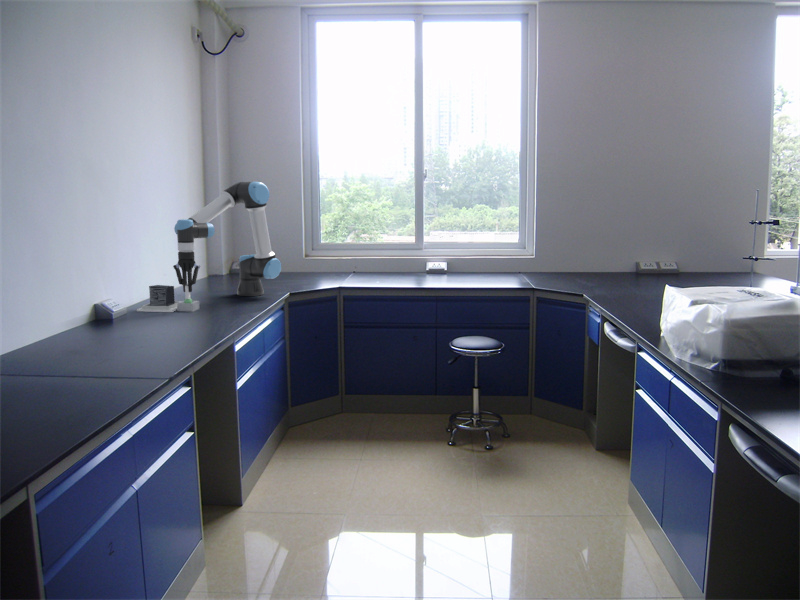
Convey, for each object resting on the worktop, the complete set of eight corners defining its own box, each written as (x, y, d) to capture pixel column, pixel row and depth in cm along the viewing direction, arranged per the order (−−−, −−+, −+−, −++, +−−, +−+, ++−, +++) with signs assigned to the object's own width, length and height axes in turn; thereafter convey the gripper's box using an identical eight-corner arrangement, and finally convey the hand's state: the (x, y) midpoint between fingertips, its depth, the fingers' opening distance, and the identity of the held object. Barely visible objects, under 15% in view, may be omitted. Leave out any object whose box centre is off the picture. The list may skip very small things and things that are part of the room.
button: (193, 306, 312) (193, 298, 311) (190, 307, 308) (190, 299, 307) (186, 306, 312) (185, 298, 311) (183, 307, 308) (183, 299, 308)
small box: (175, 306, 314) (174, 285, 312) (167, 308, 308) (166, 287, 306) (158, 304, 317) (157, 284, 316) (149, 306, 311) (148, 286, 310)
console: (199, 308, 314) (199, 300, 313) (193, 311, 306) (193, 303, 305) (183, 308, 314) (183, 300, 314) (177, 311, 306) (177, 303, 306)
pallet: (187, 305, 321) (187, 301, 321) (172, 312, 303) (172, 307, 303) (153, 304, 322) (152, 300, 322) (136, 311, 304) (136, 306, 304)
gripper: (201, 250, 309) (203, 297, 313) (176, 250, 309) (178, 297, 313) (196, 252, 301) (198, 300, 305) (169, 251, 302) (172, 299, 306)
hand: (188, 298), depth 309 cm, fingers closed
